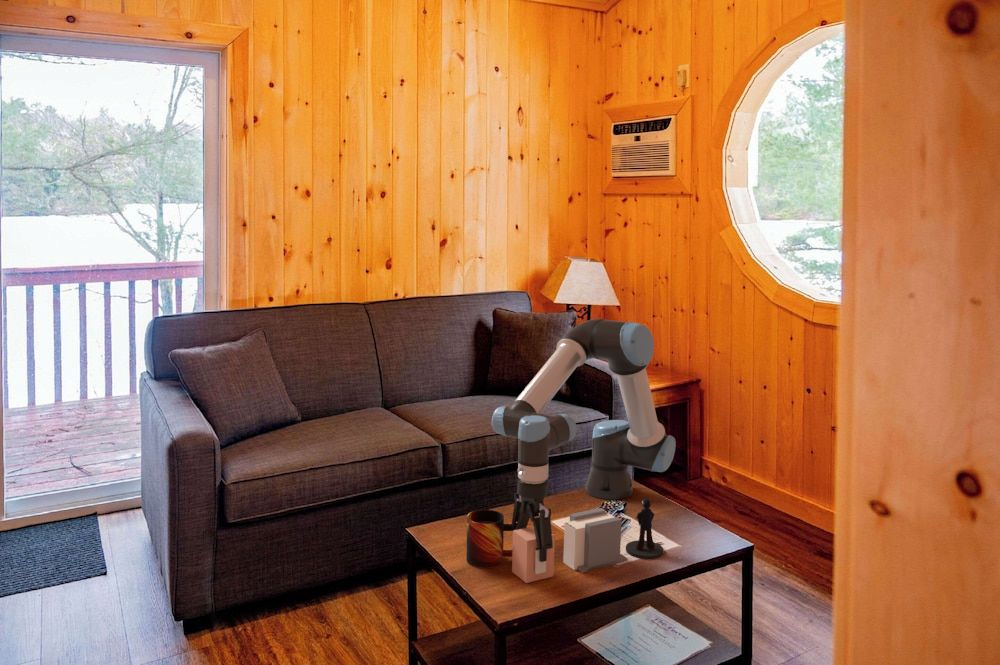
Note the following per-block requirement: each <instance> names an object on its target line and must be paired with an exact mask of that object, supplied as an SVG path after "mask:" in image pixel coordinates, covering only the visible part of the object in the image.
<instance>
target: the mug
mask: <svg viewBox="0 0 1000 665" xmlns="http://www.w3.org/2000/svg"><path fill="white" fill-rule="evenodd" d="M504 522H505V516H504V514H503V513H502V512H500V511H497V510H493V509H477V510H473V511H471V512H468V514H467V515H466V563H467V564H468V565H470V566H472V567H475V568H479V569H492V568H496V567H498V566H501V564H503V562H504V558H512V549H504V538H505V537H504V534H505V533H504V532H513V530H515V528H512V523H504Z"/></svg>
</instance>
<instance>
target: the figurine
mask: <svg viewBox="0 0 1000 665" xmlns="http://www.w3.org/2000/svg"><path fill="white" fill-rule="evenodd" d="M641 503H642V507H643V508H642V509H641V510H640V512H639V511H638V513H637V514H636V515H635V519H637V521H638V525H639V538H638V539H637V540H632V541H629V542H628V543H626V545H625V552H626V553H627V554H628V555H629V556H631V557H633V558H636V559H641V560H656V559H659V558H661V557H662V556H664V551H665V550H664V547H663V546H662V545H661V544H659V543H657V542H654V538H653V533H652V526H653V525H652V524H653V523H652V521H653V519H654V516H655V513H654V512H653V511H652V509H651V508H650V507H651V505H652V503H651V500H650V499H649V498H648V497H645V498H643V500H641ZM645 536H646V539H645Z"/></svg>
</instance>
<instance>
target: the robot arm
mask: <svg viewBox="0 0 1000 665" xmlns="http://www.w3.org/2000/svg"><path fill="white" fill-rule="evenodd" d="M555 346H556V350H555V351H554V352H553V354H552V355H551V356H550V357H549V359H548V360H547V361H546V362H545V363H544V365H542V367H541V368H540V370H538V372H537V373H536V374H535V375H534V376H533V378H532V379H531V380H530V382H529V383H528V384H527V385H526V386H525V388H524V389H523V390H522V392H521V393H520V394H519V395H518V396H517V398H515V400H514V401H513V402H512V403H511V405H509V406H506V405H505V406H504V405H502V406H499V407H497V408H496V409H495V410H494V411H493V414H492V417H491V427H492V429H493V431H494V432H495V433H496V434H498V435H501V436H503V437H506V438H507V437H508V438H514V439H518V441H517V442H518V458H517V461H518V462H517V464H518V465H517V467H518V468H517V470H516V471H517V477H518V479H517V490H516V491H517V492H514V494H513V497H514V498H513V499H514V503H513V504H514V505H513V512H512V520H511V524H512V528H515V530H518V529H523V528H528V524H529V521H530V522H531V523H532V524H533V526H534V531H535V536H536V541H537V546H538V548H535V549H536V552H535V573H536V574H539V573H543V572H546V560H547V549H550V548H553V543H552V533H553V532H552V520H551V518H552V517H551V516H552V509H551V508H550V507H548V508H547V507H545V503H544V498H545V497H546V496H547V495H548V491H549V488H548V487H549V481H548V479H549V464H550V463H549V454H550V451H552V450H555V449H556V448H560V447H562V446H565V445H567V444H568V443H569V442H571V441H573V440H574V439H575V437H576V436H577V433H578V428H577V423H576V421H575V420H574V418H572V416H570V415H569V414H566V413H562V414H558V413H557V414H556V415H550V414H549V415H548V414H542V412H543V411H544V409H545V408H546V407H547V406H548V405H549V403H550V402H551V401H552V399H553V398H554V397H555V396H556V394H557V393H558V391H559V390H560V389H562V388H561V387H562V386H563V385H564V384H565V383H566V381H567V380H568V379H569V377H570V376H571V375H572V374H573V373H574V371H575V370H576V368H577V367H581V366H583V365H584V364H585V363H586V362H587V360H590V359H597V360H601V361H602V360H603V361H607V364H608V367H609V370H610V372H611V373H613V374H614V375H616V378H617V381H618V385H619V390H620V393H621V394H620V395H621V397H622V401H623V405H624V409H625V413H626V418H627V420H623V419H610V420H609V419H608V420H603V421H600V422H597V423H596V424H595V425H594V426H593V432H592V437H591V438H592V446H591V447H592V448H591V449H592V450H591V452H592V453H591V468H590V471H589V474H588V477H587V480H586V482H585V493H587V494H588V495H589V496H591V497H594V498H597V499H602V500H623V499H626V498H629V497H631V496H632V495H633V490H634V489H633V488H634V486H633V482H632V479H631V475H630V472H629V467H634V468H637V469H642V470H646V471H649V472H658V473H664V472H666V471H667V470H668V469H669V467H670V466H671V464H672V462H673V460H674V456H675V452H676V447H677V446H676V439H675V437H674V436H673V435H670V434H667V433H666V429H665V426H664V425H663V424H662V423H660V422H659V420H658V417H657V413H656V407H655V402H654V400H653V395H652V390H651V387H650V381H649V377H648V372H647V369H646V368H647V367H648V366H649V363H650V362H651V360H652V358H653V356H654V351H655V349H654V346H655V340H654V336H653V333H652V332H651V330H650V329H649V328H648V327H647V325H644V324H643V323H642V324H641V323H637V322H634V321H621V320H613V319H604V318H591V319H589V320H585V321H583V322H581V323H579V324H577V325H575V326H573V328H571V329H570V330H568V331H567V332H566V333H565V334H563V336H562V337H561V338H560V339H559V340H558V342H557V344H556V345H555Z"/></svg>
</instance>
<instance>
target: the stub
mask: <svg viewBox="0 0 1000 665" xmlns="http://www.w3.org/2000/svg"><path fill="white" fill-rule="evenodd" d="M555 536H556V535H555V534H554V532H552V543H553V548H550V549H547V560H546V572H543V573H539V574H536V573H535V552H536V549H535V548H538V546H537V541H536V536H535V531H534V526H527V528H523V529H518V530H513V531H512V549H511V550H512V557H511V560H512V565H511V573H513V574H514V575H516V576H517V577H518V578H520V580H522V581H523V582H524V583H525V584H528V583H532V582H536V581H540V580H544V579H548V578H553V577H554V576H555V575H554V574H555V573H554V572H555V545H556V544H555V543H556V542H555V541H556V540H555V539H556V537H555Z"/></svg>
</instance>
